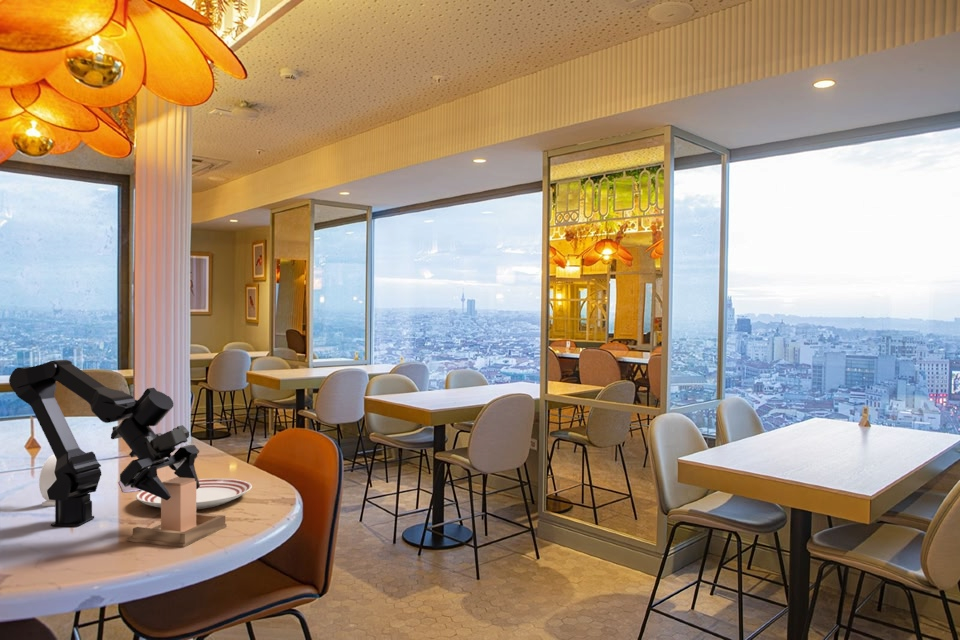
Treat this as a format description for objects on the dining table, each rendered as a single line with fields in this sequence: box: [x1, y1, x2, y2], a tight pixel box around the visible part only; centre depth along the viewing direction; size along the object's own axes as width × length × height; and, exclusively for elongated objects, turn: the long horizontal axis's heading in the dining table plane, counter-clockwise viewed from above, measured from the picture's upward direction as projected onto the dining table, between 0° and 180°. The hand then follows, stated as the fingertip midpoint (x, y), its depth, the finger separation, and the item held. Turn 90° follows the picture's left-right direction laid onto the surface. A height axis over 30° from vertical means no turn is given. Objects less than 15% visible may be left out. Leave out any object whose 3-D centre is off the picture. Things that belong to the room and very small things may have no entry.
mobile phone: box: [118, 480, 143, 494], centre depth 186 cm, size 8×1×15 cm
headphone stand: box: [38, 453, 57, 507], centre depth 168 cm, size 5×6×12 cm
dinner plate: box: [135, 478, 253, 510], centre depth 171 cm, size 28×27×3 cm
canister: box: [160, 476, 197, 532], centre depth 145 cm, size 5×5×11 cm
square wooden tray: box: [127, 512, 227, 548], centre depth 145 cm, size 14×14×3 cm
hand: (184, 493), depth 144 cm, fingers open, 9 cm apart
